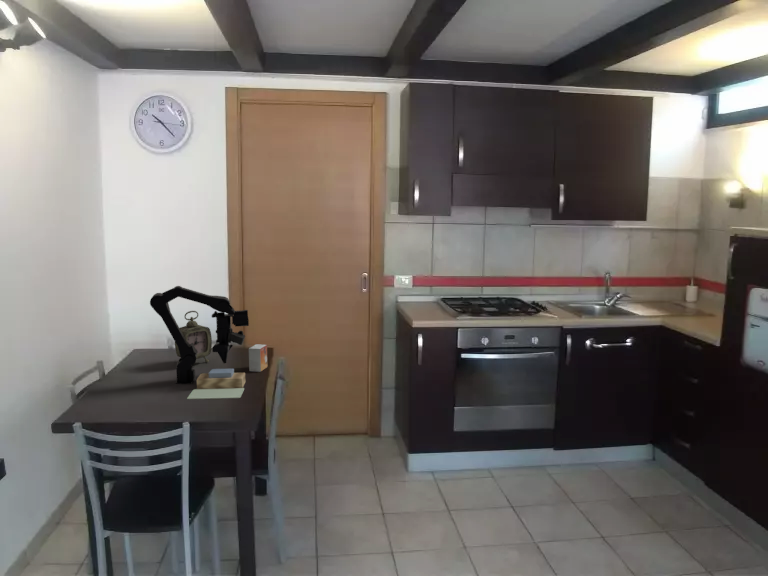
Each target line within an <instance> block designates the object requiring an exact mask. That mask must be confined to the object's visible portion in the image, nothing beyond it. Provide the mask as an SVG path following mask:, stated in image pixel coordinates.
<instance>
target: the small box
mask: <svg viewBox="0 0 768 576" xmlns="http://www.w3.org/2000/svg"><path fill="white" fill-rule="evenodd" d="M267 368H268V345H267V344H258V343H257V344H256V343H255V344H254V345H253V346H250V347H249V348H248V369H249V372H257V373H259V372H260V373H261V372H262V371H263V370H265V369H267Z"/></svg>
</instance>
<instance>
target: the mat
mask: <svg viewBox="0 0 768 576" xmlns="http://www.w3.org/2000/svg"><path fill="white" fill-rule="evenodd" d="M244 390H245V387H243V388H221V389H197V388H194V389H193V390H192V391H191V393H189V395H188V396H187V398H186V400H213V399H214V400H216V399H217V400H218V399H221V400H223V399H240V398H241V397H242V395H243V393H244Z"/></svg>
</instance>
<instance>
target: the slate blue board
mask: <svg viewBox="0 0 768 576" xmlns="http://www.w3.org/2000/svg"><path fill="white" fill-rule="evenodd" d="M208 373H209V378H232V376H233V374H234V373H235V368H211V370H210V371H209V372H208Z"/></svg>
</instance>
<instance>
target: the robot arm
mask: <svg viewBox="0 0 768 576" xmlns="http://www.w3.org/2000/svg"><path fill="white" fill-rule="evenodd" d="M177 298H181V299H185V300H188V301H192V302H195V303H199V304H203V305H206V306H208V307H210V308H211V309H213V310H215V311H214V312H213V313H212V314H211V318H215V320H216V330H215V334H216V338H217V339H216V340H215V343H214V345H212V348H211V352H213V353H218V356H219V357H220V359H221V361H222V363H223V364H227V361H228V357H229V351H230V350H231V349H232V347H233V346H234V345H233V344H231V343H235V344H238V345H240V346H242V345H243V343H244V341H245V339H246V335H245V334H244V331H243V330H239V331H238V332H237V331H233V328H231V326H232V325H233V326H234V327H248V326H249V324H250V323H249V322H250V321H249V313H248V311H249V310H248V309H242V310H235V308H234V307H233V306H232V305H231V302H230V301H231V300H229V298H228V297H226V296H222V295H209V294H206V293H202V292H199V291H195V290H193V289H189V288H185V287H182V286H181V285H176V286H174V287H172V288H170V289H168V290H165V291H164V292H156V293H155V294H153V296H152V297H151V298H150V301H149V304H150V307H151V308H152V309H153V311H154V312H155V313H156V314H157V315H159V317H160V318H161V319H162V321H163V323H164V324H165V326H166V328H167V330H168V332H169V333H170V335H171V337H172V339H173V340H174V343H175V342H176V344H177V346H178V349H179V353H180V357H179V359H178V360H177V363H176V368H175V370H176V382H175V384H177V385H178V384H179V385H180V384H182V385H183V384H193V382H194V381H195V380H196V370H195V369H194V364H195V363H196V361H197V359H196V358H197V349H195V347H194V344H193V343H191V344H189V343H188V342H187V341H186V339H185V337H184V335H183V334H182V332H181V330H180V326H179V325H178V323H177V322H176V320H175V317H174V316H173V314H172V313H171V308H170V305H169V303H170V302H171V301H173V300H175V299H177ZM231 323H232V324H231Z"/></svg>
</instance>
